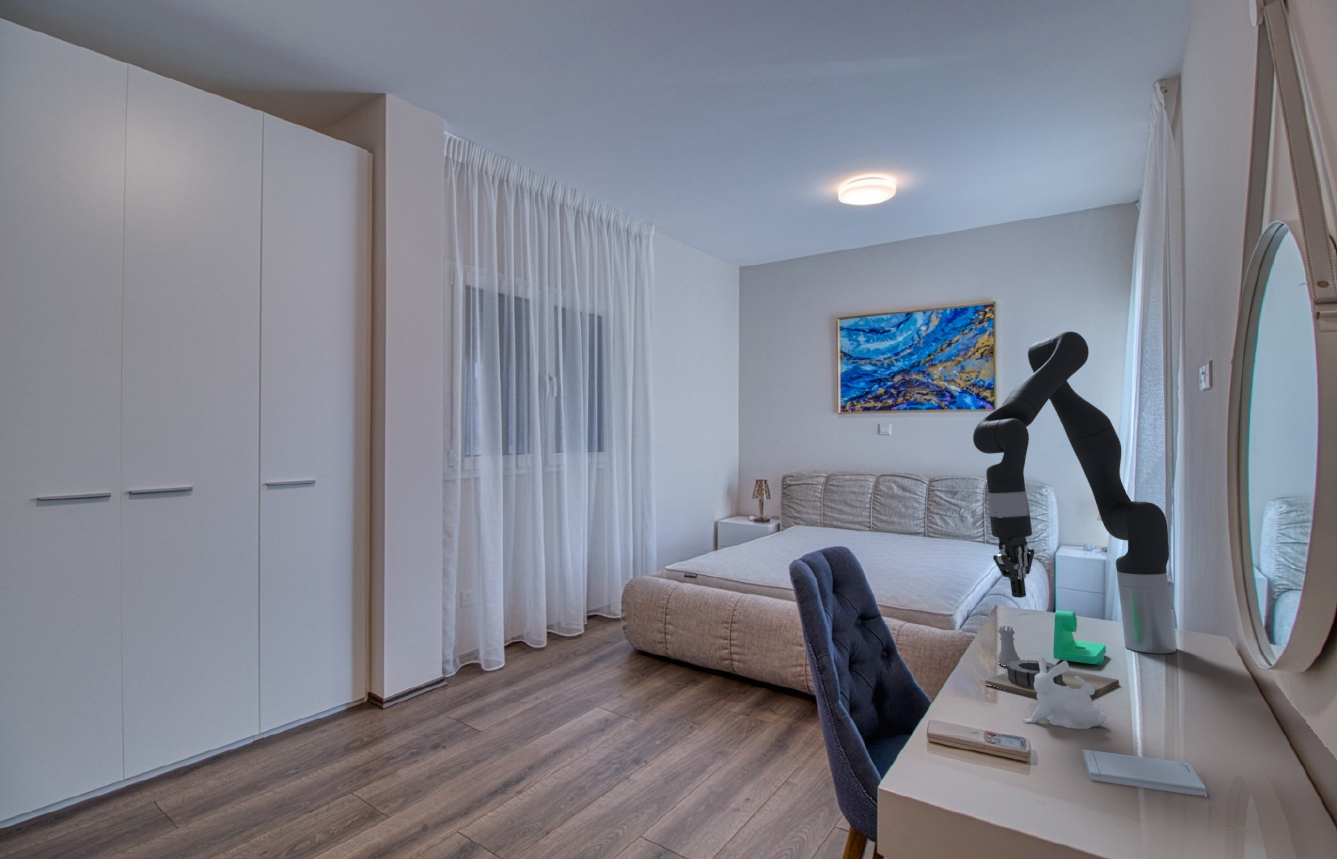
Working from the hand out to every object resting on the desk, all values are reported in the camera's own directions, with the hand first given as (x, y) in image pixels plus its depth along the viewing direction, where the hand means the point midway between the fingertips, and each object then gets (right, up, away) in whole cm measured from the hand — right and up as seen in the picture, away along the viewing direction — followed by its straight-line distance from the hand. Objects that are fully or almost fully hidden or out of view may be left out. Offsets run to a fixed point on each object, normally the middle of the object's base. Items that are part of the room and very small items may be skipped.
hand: (1019, 596), depth 130 cm
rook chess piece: (+1, -16, +5) cm, 17 cm away
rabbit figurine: (-7, -14, -26) cm, 30 cm away
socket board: (+1, -15, -9) cm, 17 cm away
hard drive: (-9, -13, -45) cm, 48 cm away
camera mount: (+17, -16, +6) cm, 24 cm away
